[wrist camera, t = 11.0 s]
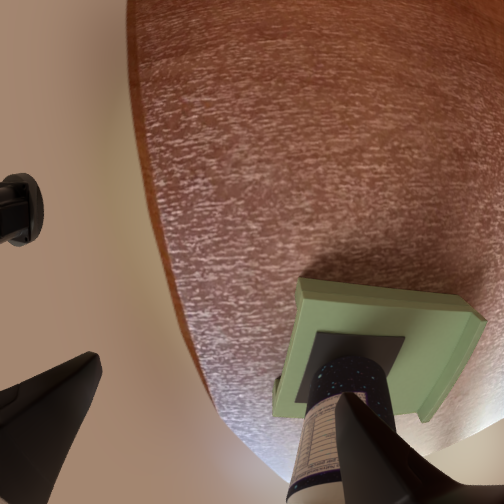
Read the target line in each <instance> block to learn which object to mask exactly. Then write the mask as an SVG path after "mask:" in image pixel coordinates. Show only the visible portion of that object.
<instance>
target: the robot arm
mask: <svg viewBox="0 0 504 504" xmlns="http://www.w3.org/2000/svg"><path fill="white" fill-rule="evenodd" d="M8 240H12V241H16V242H21V243H26V244H28V243H30V242H31V229H30V212H29V184H28V182H0V244H1V243H3V242H6V241H8ZM101 376H102V366H101V362H100V358H99V355H98V354H97V353H94V352H90V351H88V352H86V353H84V354H81V355H79V356H77V357H75V358H73V359H71V360H69V361H67V362H65V363H63V364H60V365H58V366H56V367H54V368H52V369H49V370H47V371H45V372H43V373H41V374H39V375H36V376H34V377H32V378H30V379H28V380H25V381H23V382H21V383H20V384H17V385H14V386H12V387H10V388H8V389H5V390H2V391H0V504H47V503H48V500H49V497H50V495H51V492H52V490H53V487H54V484H55V482H56V479H57V477H58V475H59V472H60V470H61V467H62V465H63V463H64V461H65V458H66V456H67V454H68V451H69V449H70V447H71V445H72V443H73V441H74V438H75V436H76V434H77V432H78V430H79V428H80V426H81V424H82V422H83V420H84V417H85V416H86V414H87V411H88V410H89V407H90V405H91V403H92V400H93V397H94V395H95V392H96V389H97V387H98V384H99V381H100V379H101ZM334 412H335V431H336V447H337V453H338V459H339V465H340V472H341V478H342V485H343V492H344V499H345V504H504V485H487V486H486V485H484V486H483V485H464V484H461V483H459V482H457V481H455V480H453V479H452V478H450V477H449V476H447V475H446V474H444V473H443V472H442V471H440V470H439V469H437V468H436V467H435V466H433V465H432V464H430V463H429V462H428V461H427V460H426V459H424V458H423V457H422V456H421V455H420V454H419V453H417V452H416V451H415V450H414V449H413V448H412V447H411V448H410V445H409V444H408V443H407V442H405V441H404V440H403V439H402V438H401V437H400V436H399V435H398V434H397V433H396V432H395V431H394V430H393V429H392V428H391V427H389V426H388V425H387V424H386V423H385V422H384V421H383V420H382V419H381V418H380V417H379V416H378V415H377V414H376V413H375V412H374V411H373V410H372V409H371V408H370V407H369V406H368V405H366V404H365V403H364V402H363V401H362V400H361V399H360V398H359V397H358V396H357V395H356V394H355V393H354V392H343V393H342V394H341V396H340V398H339V400H338V402H337V404H336V406H335V411H334Z"/></svg>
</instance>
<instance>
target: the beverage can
mask: <svg viewBox="0 0 504 504" xmlns="http://www.w3.org/2000/svg"><path fill="white" fill-rule="evenodd" d="M343 392H354V393H355V394H356V395H357V396H358V397H359V398H360V399H361V400H362V401H363V402H364V403H365V404H366V405H368V406H369V407H370V408H371V409H372V410H373V411H374V412H375V413H376V414H377V415H378V416H379V417H380V418H381V419H382V420H383V421H384V422H385V423H386V424H387V425H388V426H389V427H391V428H392V429H393V430H394V431H395V432H396V426H395V420H394V414H393V409H392V403H391V398H390V393H389V388H388V383H387V378H386V374H385V372H384V370H383V368H382V367H381V366H380V365H379V364H378V363H376V362H375V361H373V360H371V359H369V358H366V357H361V356H345V357H340V358H337V359H334V360H332V361H330V362H328V363H326V364H324V365H323V366H322V367H320V368H319V369H318V370H317V372H316V373H315V374H314V376H313V378H312V380H311V383H310V389H309V395H308V401H307V407H306V412H305V418H304V423H303V428H302V433H301V438H300V443H299V448H298V452H297V457H296V461H295V465H294V470H293V474H292V478H291V482H290V486H289V490H288V494H287V498H286V503H287V504H345V499H344V492H343V485H342V478H341V472H340V465H339V459H338V453H337V447H336V431H335V412H334V411H335V406H336V404H337V402H338V400H339V398H340V396H341V394H342V393H343ZM396 433H397V432H396Z"/></svg>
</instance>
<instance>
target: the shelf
mask: <svg viewBox="0 0 504 504" xmlns="http://www.w3.org/2000/svg"><path fill="white" fill-rule="evenodd" d="M295 301H296V306H297V314H296V318H295V323H294V327H293V331H292V335H291V339H290V344H289V348H288V352H287V356H286V359H285V363H284V367H283V371H282V375H281V379H275V382H274V386H273V390H272V406H273V407H272V416H273V417H286V418H305V412H306V407H307V401H308V395H309V389H310V383H311V380H312V378H313V376H314V374H315V373H316V372H317V370H318V369H319V368H320V367H322V366H323V365H324V364H326V363H328V362H330V361H332V360H334V359H337V358H340V357H345V356H361V357H366V358H369V359H371V360H373V361H375V362H376V363H378V364H379V365H380V366H381V367H382V368H383V370H384V372H385V374H386V378H387V383H388V388H389V393H390V398H391V403H392V409H393V414H394V415H401V414H409V413H417V414H418V417H419V419H420V421H421V423H426V422H429V421H430V419H431V418H432V417H433V415H434V414H435V413H436V411H437V410H438V408H439V407H440V406H441V404H442V403H443V401H444V400H445V398H446V397H447V395H448V394H449V392H450V391H451V389H452V387H453V386H454V384H455V383H456V381H457V379H458V378H459V376H460V374H461V373H462V371H463V369H464V367H465V366H466V364H467V362H468V360H469V358H470V357H471V355H472V353H473V351H474V349H475V347H476V345H477V343H478V341H479V339H480V337H481V335H482V333H483V331H484V328H485V326H486V324H487V322H488V321H487V320H486V319H485V318H484V317H483V316H482V315H481V314H479V313H478V312H477V311H476V310H475V309H474V308H473V307H471V306H470V305H469V304H468V303H467V302H466V301H465V300H463V299H462V298H461V297H460V296H459V295H452V294H442V293H432V292H422V291H412V290H403V289H394V288H385V287H376V286H367V285H358V284H350V283H342V282H333V281H325V280H317V279H309V278H301V277H298V281H297V286H296V291H295Z"/></svg>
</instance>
